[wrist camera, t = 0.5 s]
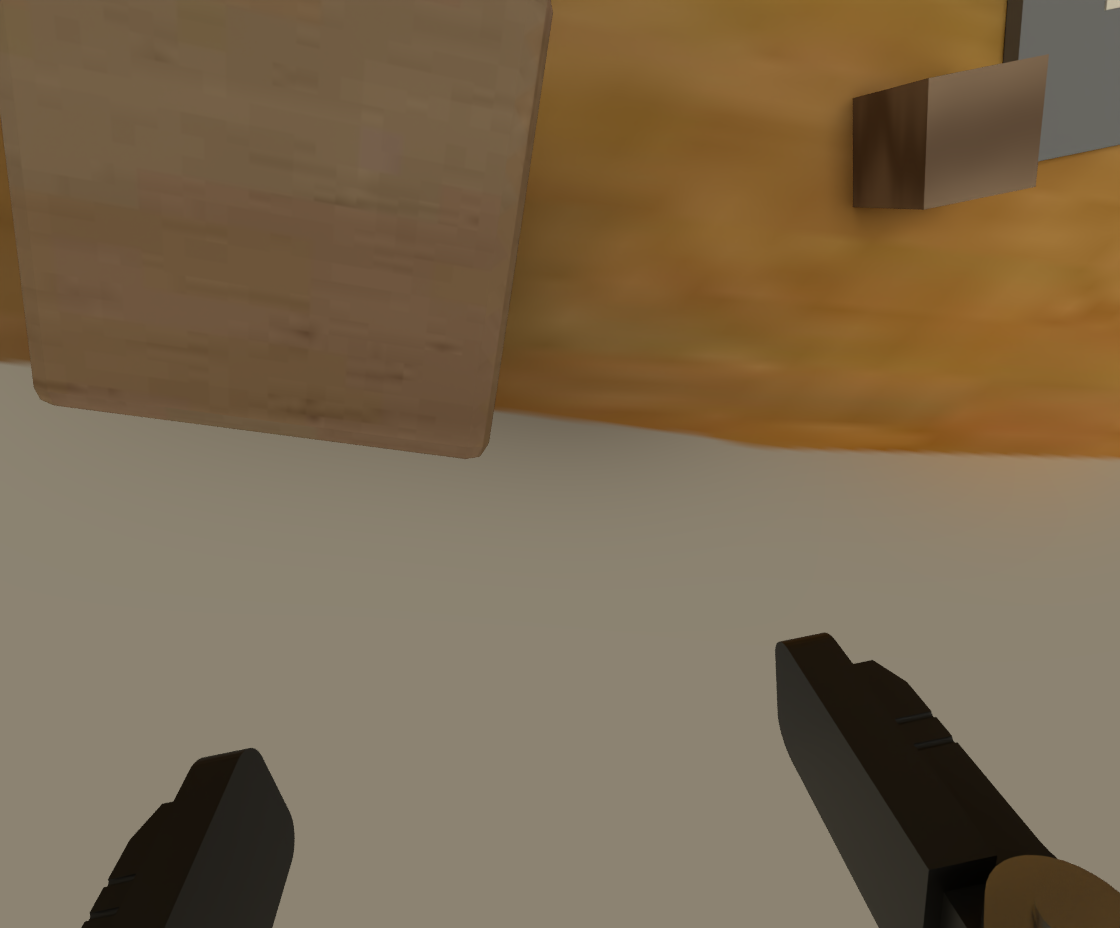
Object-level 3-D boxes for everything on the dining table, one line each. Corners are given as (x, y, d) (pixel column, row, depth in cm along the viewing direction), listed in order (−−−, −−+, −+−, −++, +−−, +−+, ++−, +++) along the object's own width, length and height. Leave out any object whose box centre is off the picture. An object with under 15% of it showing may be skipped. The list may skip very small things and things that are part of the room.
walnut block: (852, 98, 31) (929, 78, 26) (951, 78, 32) (1049, 53, 26) (852, 207, 33) (923, 209, 28) (946, 188, 34) (1035, 186, 28)
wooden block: (490, 320, 34) (485, 469, 16) (291, 288, 32) (24, 410, 14) (519, 108, 30) (560, -27, 12) (297, 60, 29) (-52, -180, 10)
